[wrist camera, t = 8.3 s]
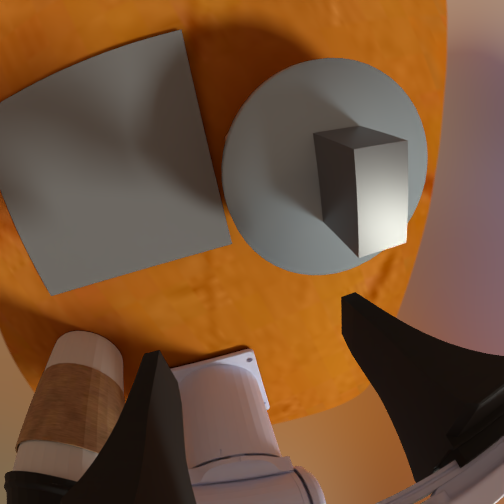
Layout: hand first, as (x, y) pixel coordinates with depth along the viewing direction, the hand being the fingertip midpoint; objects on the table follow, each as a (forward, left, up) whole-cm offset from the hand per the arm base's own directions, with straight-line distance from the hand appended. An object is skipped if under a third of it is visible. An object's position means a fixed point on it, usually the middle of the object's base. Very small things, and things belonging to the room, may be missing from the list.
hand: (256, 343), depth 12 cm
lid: (+4, -6, -5) cm, 9 cm away
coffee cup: (-7, +13, -10) cm, 18 cm away
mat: (+6, +6, -9) cm, 13 cm away
